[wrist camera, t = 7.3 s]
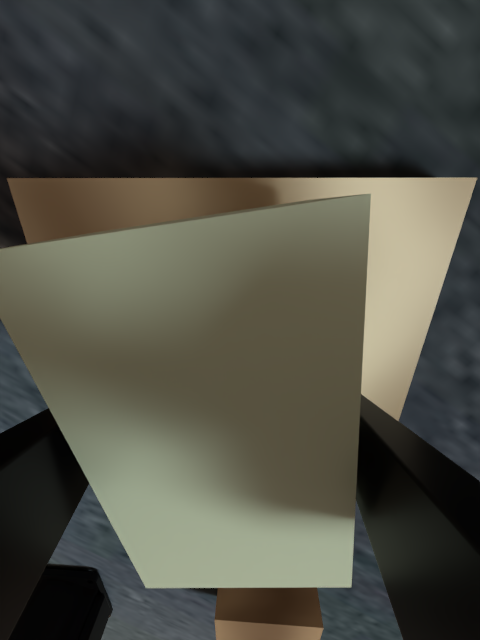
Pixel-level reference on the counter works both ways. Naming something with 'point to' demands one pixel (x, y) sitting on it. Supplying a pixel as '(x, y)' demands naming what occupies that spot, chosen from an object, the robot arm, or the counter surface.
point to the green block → (208, 384)
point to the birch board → (246, 193)
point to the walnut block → (268, 614)
